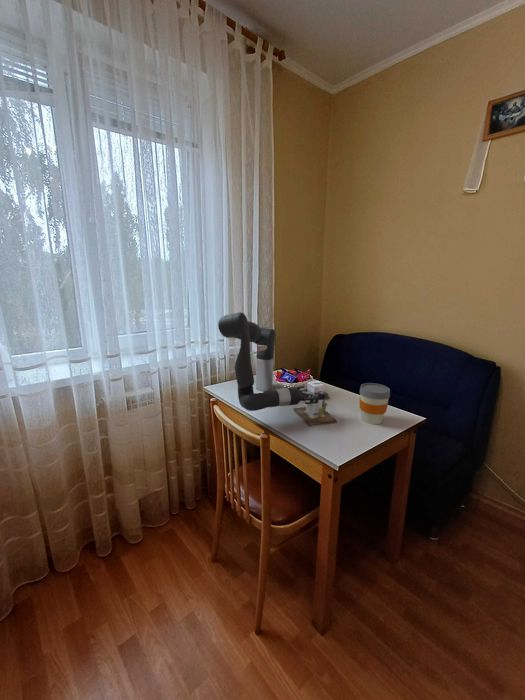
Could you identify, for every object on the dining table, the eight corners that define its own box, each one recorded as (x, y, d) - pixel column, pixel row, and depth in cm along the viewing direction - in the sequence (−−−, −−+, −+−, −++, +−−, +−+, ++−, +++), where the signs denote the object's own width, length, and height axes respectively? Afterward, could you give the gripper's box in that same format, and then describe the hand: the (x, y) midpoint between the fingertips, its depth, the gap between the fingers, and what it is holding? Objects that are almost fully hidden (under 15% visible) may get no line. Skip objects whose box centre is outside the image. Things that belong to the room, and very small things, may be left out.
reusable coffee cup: (350, 416, 143) (353, 385, 139) (369, 411, 149) (373, 381, 145) (372, 428, 132) (377, 395, 129) (392, 422, 139) (397, 390, 135)
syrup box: (312, 417, 138) (314, 386, 135) (305, 411, 144) (307, 381, 140) (323, 415, 140) (325, 384, 137) (316, 409, 146) (318, 380, 142)
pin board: (293, 410, 147) (294, 399, 146) (318, 407, 152) (319, 396, 150) (309, 426, 133) (310, 414, 131) (336, 422, 137) (337, 410, 136)
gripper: (293, 394, 127) (329, 390, 133) (280, 382, 140) (312, 379, 146) (292, 412, 129) (327, 407, 135) (279, 398, 142) (311, 394, 148)
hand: (319, 392), depth 140 cm, fingers open, 8 cm apart
